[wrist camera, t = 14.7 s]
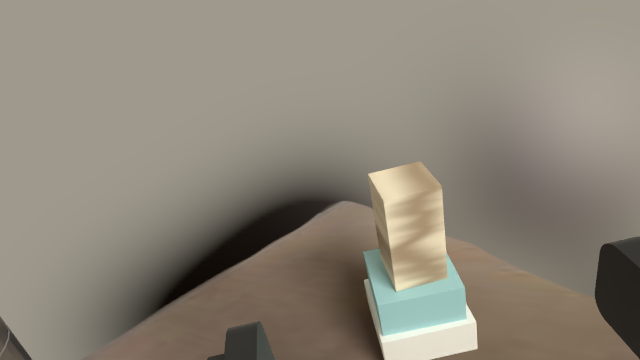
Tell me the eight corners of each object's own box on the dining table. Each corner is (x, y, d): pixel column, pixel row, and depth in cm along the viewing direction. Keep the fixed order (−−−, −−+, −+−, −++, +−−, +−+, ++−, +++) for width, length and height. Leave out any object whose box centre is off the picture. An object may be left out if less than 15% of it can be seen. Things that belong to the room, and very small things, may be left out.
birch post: (396, 291, 43) (383, 200, 38) (380, 259, 47) (367, 174, 42) (447, 278, 43) (441, 186, 38) (427, 247, 47) (420, 161, 42)
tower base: (387, 371, 45) (381, 343, 43) (368, 306, 53) (363, 279, 51) (477, 351, 45) (476, 322, 43) (445, 288, 53) (443, 261, 51)
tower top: (383, 336, 44) (377, 305, 42) (368, 280, 51) (363, 251, 49) (466, 319, 43) (464, 287, 41) (440, 265, 50) (437, 236, 48)
